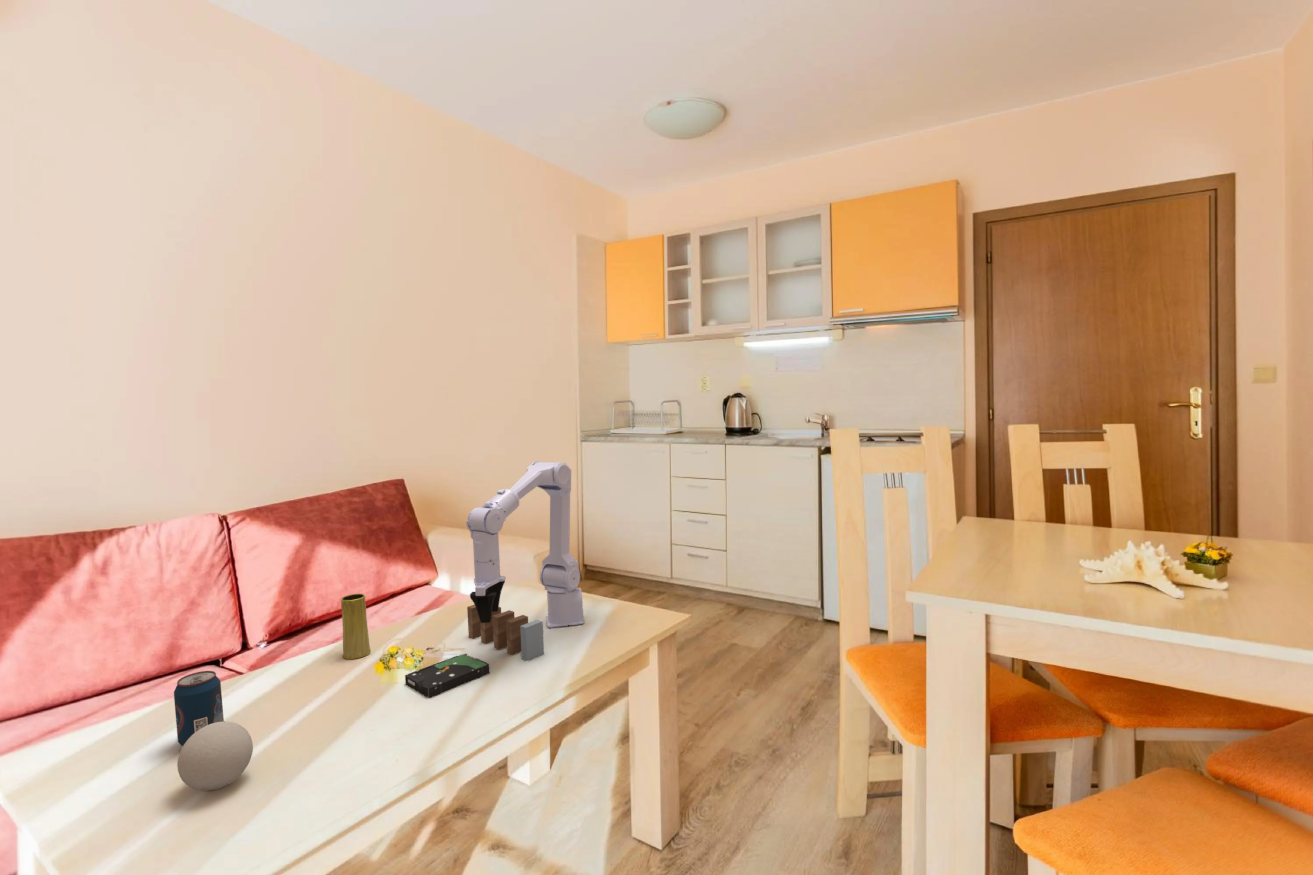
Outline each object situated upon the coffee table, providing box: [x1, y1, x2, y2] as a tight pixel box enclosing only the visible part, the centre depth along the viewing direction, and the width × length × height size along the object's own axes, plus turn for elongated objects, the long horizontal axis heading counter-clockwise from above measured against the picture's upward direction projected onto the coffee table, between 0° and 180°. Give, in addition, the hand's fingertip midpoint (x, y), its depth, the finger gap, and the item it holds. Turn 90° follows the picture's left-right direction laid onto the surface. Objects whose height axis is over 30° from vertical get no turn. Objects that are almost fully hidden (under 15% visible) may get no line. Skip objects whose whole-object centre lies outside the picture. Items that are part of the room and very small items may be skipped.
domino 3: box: [506, 614, 529, 656], centre depth 152 cm, size 2×5×8 cm, turn 139°
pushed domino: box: [466, 604, 481, 640], centre depth 163 cm, size 2×5×8 cm, turn 139°
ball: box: [177, 721, 254, 792], centre depth 102 cm, size 10×10×10 cm
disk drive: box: [404, 653, 491, 699], centre depth 139 cm, size 10×3×15 cm
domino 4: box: [520, 619, 545, 662], centre depth 149 cm, size 2×5×8 cm, turn 139°
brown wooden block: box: [492, 609, 515, 651], centre depth 156 cm, size 2×5×8 cm, turn 139°
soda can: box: [173, 670, 225, 747], centre depth 115 cm, size 7×7×12 cm
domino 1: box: [480, 606, 502, 645], centre depth 160 cm, size 2×5×8 cm, turn 139°
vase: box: [340, 593, 372, 660], centre depth 153 cm, size 6×6×14 cm
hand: (489, 616), depth 147 cm, fingers open, 7 cm apart
